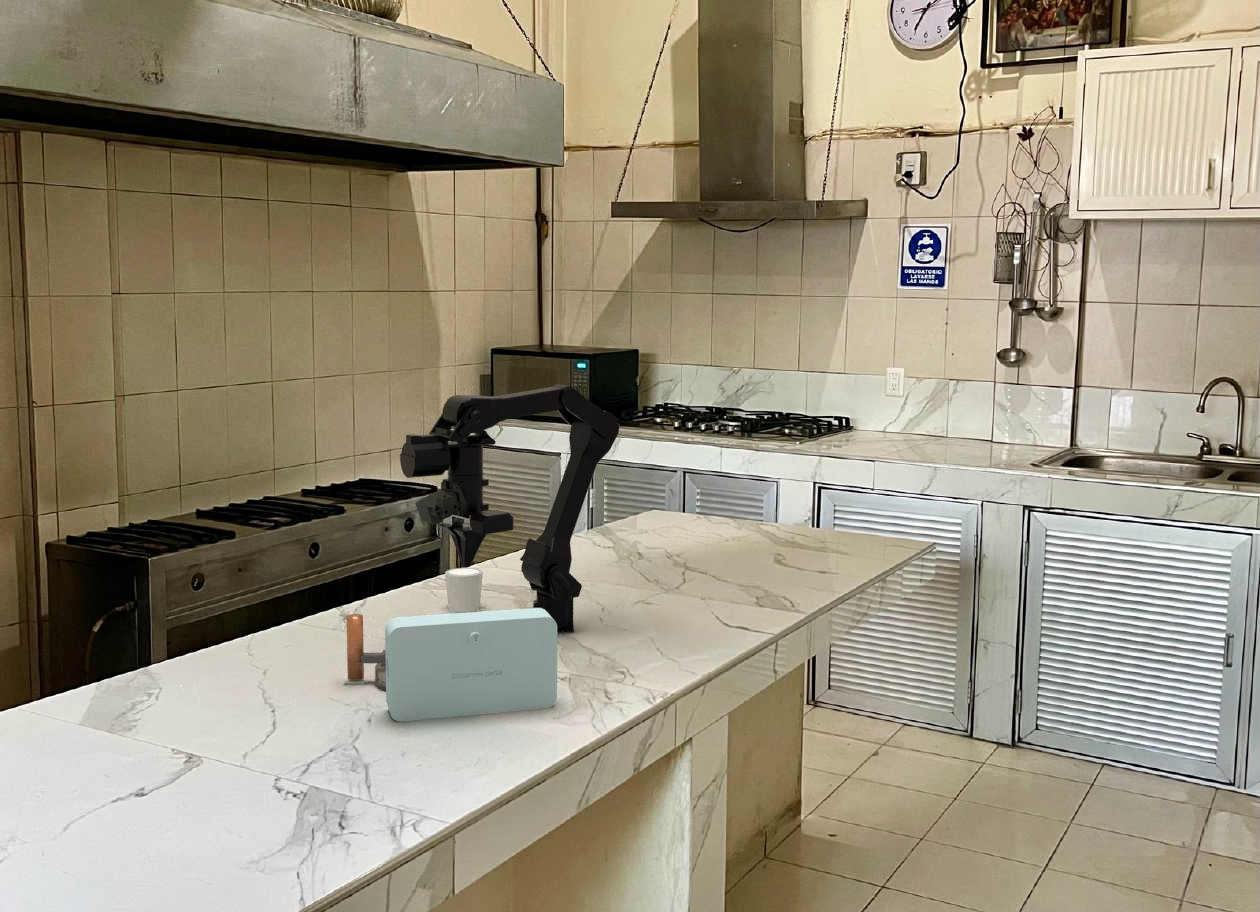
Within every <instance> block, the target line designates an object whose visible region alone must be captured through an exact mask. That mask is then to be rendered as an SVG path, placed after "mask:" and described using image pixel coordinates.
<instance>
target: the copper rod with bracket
mask: <svg viewBox="0 0 1260 912" xmlns="http://www.w3.org/2000/svg"><path fill="white" fill-rule="evenodd" d="M345 621H346V658H347V659H346V661H347V663H346V665H347V679H348V681H362V680H363V679H364V678H365V664H377V663H381V667H386V651H385V649H383V650H382V652H364V651H365V650H364V616H363V614H358V613H352V614H348V615H346V620H345Z"/></svg>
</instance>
